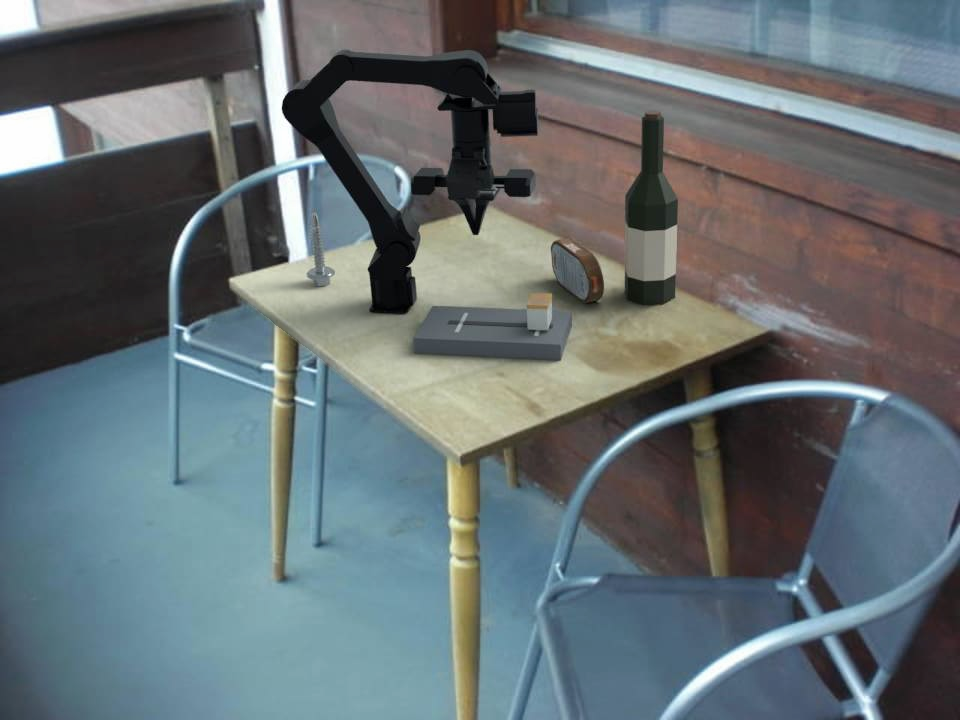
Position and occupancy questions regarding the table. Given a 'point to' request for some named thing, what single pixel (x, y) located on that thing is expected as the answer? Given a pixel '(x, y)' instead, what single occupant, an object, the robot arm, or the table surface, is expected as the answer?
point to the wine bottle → (651, 223)
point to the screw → (318, 256)
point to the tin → (577, 270)
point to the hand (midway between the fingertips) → (476, 234)
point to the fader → (539, 311)
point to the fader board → (491, 333)
